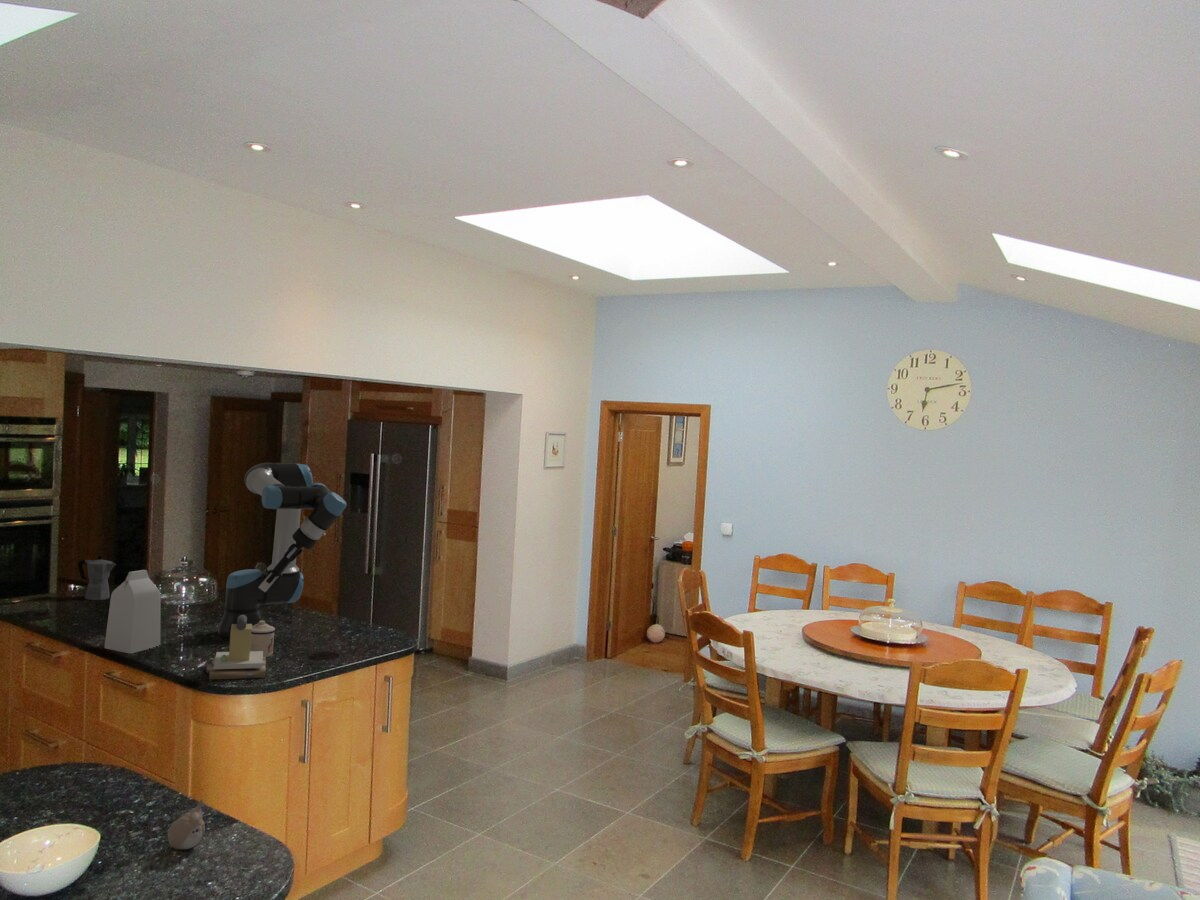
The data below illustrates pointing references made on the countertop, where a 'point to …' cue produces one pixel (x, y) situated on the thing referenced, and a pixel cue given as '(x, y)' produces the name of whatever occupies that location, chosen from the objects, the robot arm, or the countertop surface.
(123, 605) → the milk
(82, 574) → the coffeepot
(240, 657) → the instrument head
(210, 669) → the brown layered stack
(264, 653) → the teacup with lid
